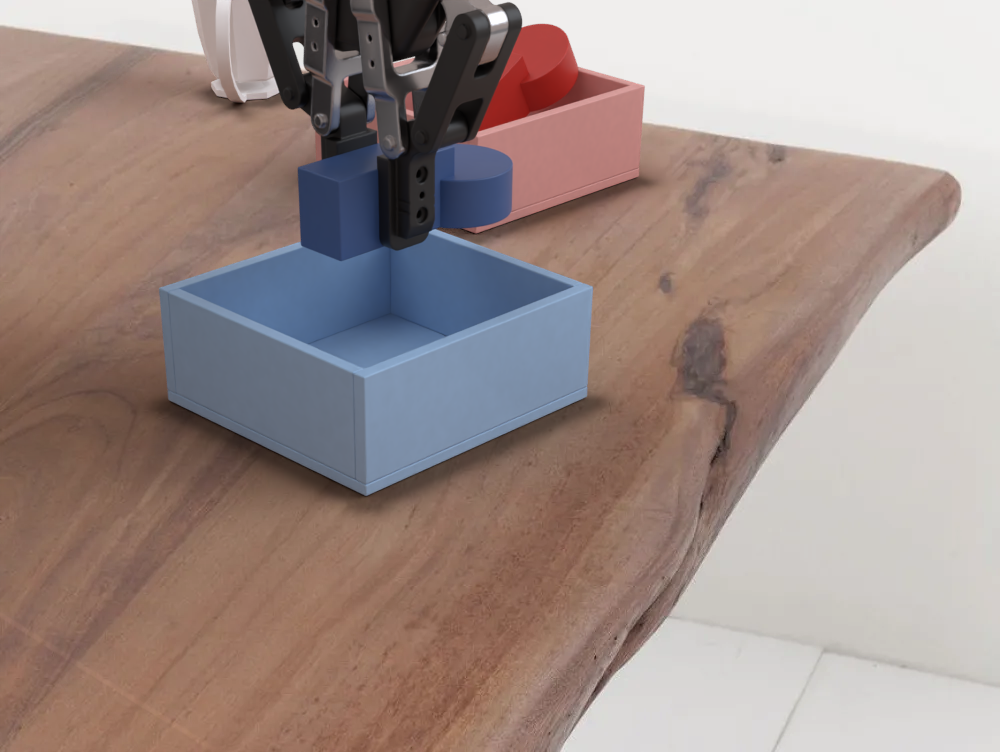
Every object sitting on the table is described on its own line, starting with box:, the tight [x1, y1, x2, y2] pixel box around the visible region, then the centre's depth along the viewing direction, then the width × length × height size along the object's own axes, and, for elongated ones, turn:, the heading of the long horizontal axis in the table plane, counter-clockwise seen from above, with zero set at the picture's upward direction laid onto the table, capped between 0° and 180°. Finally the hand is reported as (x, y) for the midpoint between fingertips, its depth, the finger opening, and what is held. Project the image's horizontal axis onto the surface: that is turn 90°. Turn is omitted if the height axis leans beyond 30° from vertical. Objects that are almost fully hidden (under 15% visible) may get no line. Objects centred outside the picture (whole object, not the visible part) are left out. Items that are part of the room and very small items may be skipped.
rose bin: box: [314, 57, 646, 234], centre depth 103 cm, size 12×13×5 cm
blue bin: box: [158, 229, 594, 497], centre depth 79 cm, size 12×13×5 cm
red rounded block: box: [478, 23, 579, 132], centre depth 103 cm, size 5×10×3 cm, turn 137°
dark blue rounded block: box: [297, 143, 513, 261], centre depth 77 cm, size 5×10×3 cm, turn 137°
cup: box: [191, 0, 280, 104], centre depth 113 cm, size 7×10×8 cm
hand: (379, 232), depth 76 cm, fingers closed on dark blue rounded block, 2 cm apart
